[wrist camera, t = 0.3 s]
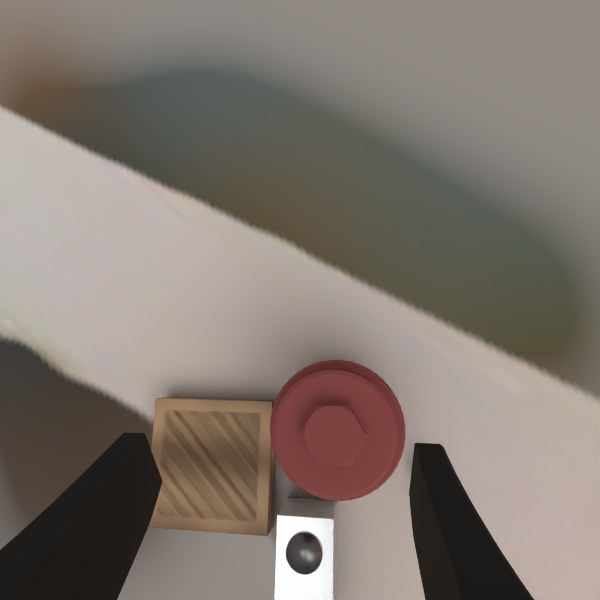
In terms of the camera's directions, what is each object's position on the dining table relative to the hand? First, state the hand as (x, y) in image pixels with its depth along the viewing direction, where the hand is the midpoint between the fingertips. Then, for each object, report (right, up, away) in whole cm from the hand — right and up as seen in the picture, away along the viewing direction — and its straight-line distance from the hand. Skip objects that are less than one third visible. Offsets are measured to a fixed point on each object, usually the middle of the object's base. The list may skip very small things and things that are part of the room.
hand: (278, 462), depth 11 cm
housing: (+2, -18, +26) cm, 31 cm away
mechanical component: (+4, -7, +28) cm, 29 cm away
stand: (-7, -11, +28) cm, 31 cm away
